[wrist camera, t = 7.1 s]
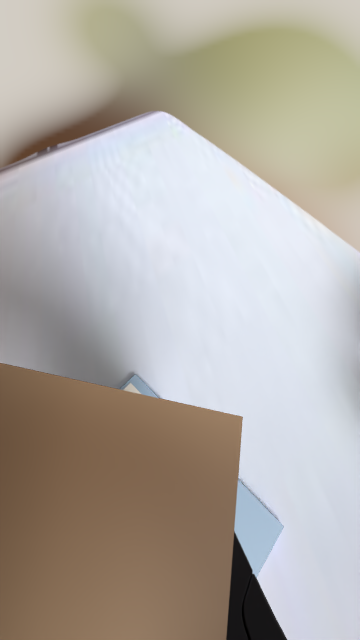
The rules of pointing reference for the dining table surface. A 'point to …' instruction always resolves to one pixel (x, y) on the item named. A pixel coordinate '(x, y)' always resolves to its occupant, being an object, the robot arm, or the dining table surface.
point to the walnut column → (113, 512)
